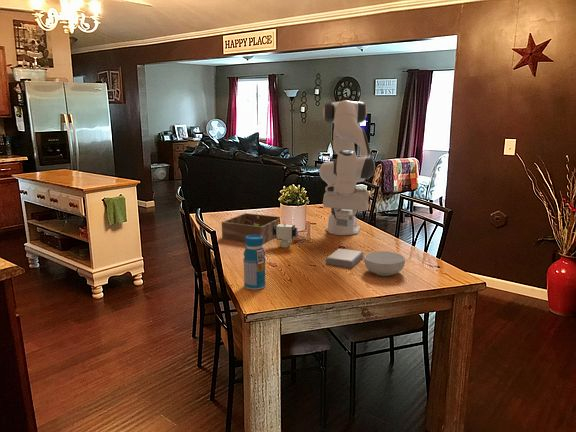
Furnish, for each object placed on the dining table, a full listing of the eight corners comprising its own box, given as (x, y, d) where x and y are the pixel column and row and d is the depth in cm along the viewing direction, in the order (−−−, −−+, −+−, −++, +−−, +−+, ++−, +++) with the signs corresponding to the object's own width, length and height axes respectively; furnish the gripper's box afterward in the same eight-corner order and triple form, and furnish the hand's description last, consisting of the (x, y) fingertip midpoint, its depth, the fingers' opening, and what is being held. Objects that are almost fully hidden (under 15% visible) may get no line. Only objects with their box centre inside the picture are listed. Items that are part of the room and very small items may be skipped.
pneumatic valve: (295, 248, 232) (295, 225, 229) (272, 247, 234) (272, 223, 231) (297, 245, 237) (297, 222, 234) (275, 244, 239) (274, 221, 237)
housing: (342, 221, 215) (343, 208, 213) (353, 222, 213) (353, 209, 211) (336, 225, 208) (336, 211, 206) (347, 226, 206) (347, 213, 204)
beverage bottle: (243, 290, 179) (242, 239, 175) (244, 282, 188) (243, 233, 183) (265, 290, 180) (265, 239, 175) (265, 282, 188) (265, 233, 183)
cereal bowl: (372, 263, 210) (373, 248, 208) (409, 270, 202) (410, 254, 200) (357, 275, 196) (358, 259, 194) (396, 282, 187) (397, 266, 186)
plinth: (338, 253, 224) (338, 247, 223) (362, 257, 219) (363, 251, 218) (325, 263, 210) (326, 257, 209) (351, 267, 205) (352, 261, 204)
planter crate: (245, 228, 270) (245, 213, 268) (283, 233, 260) (283, 217, 258) (222, 238, 249) (221, 222, 247) (262, 244, 239) (261, 227, 237)
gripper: (371, 188, 205) (369, 219, 208) (327, 185, 214) (326, 215, 217) (366, 190, 199) (365, 222, 202) (321, 187, 208) (321, 217, 211)
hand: (345, 218), depth 210 cm, fingers closed on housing, 5 cm apart
